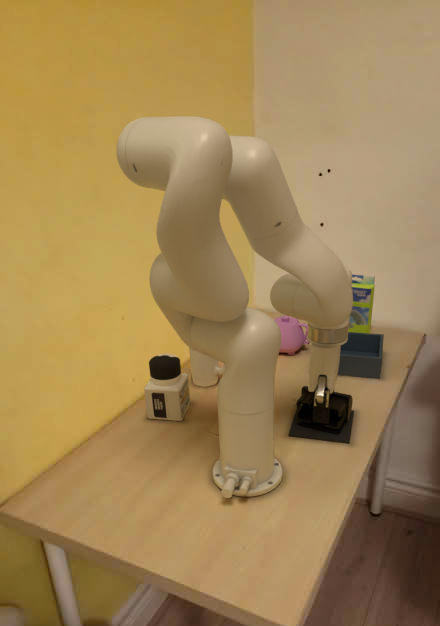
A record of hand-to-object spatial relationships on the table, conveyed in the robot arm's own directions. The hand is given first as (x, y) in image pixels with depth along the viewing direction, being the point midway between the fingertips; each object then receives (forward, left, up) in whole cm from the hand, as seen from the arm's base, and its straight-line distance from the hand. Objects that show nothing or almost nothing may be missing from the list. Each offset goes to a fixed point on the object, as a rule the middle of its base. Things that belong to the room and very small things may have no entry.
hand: (323, 410), depth 110 cm
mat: (0, 0, -3) cm, 3 cm away
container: (-2, +33, -3) cm, 33 cm away
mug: (+13, +28, -3) cm, 31 cm away
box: (+46, -2, -3) cm, 46 cm away
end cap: (0, 0, -3) cm, 3 cm away
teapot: (+35, +15, -3) cm, 38 cm away
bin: (+30, -3, -3) cm, 30 cm away
